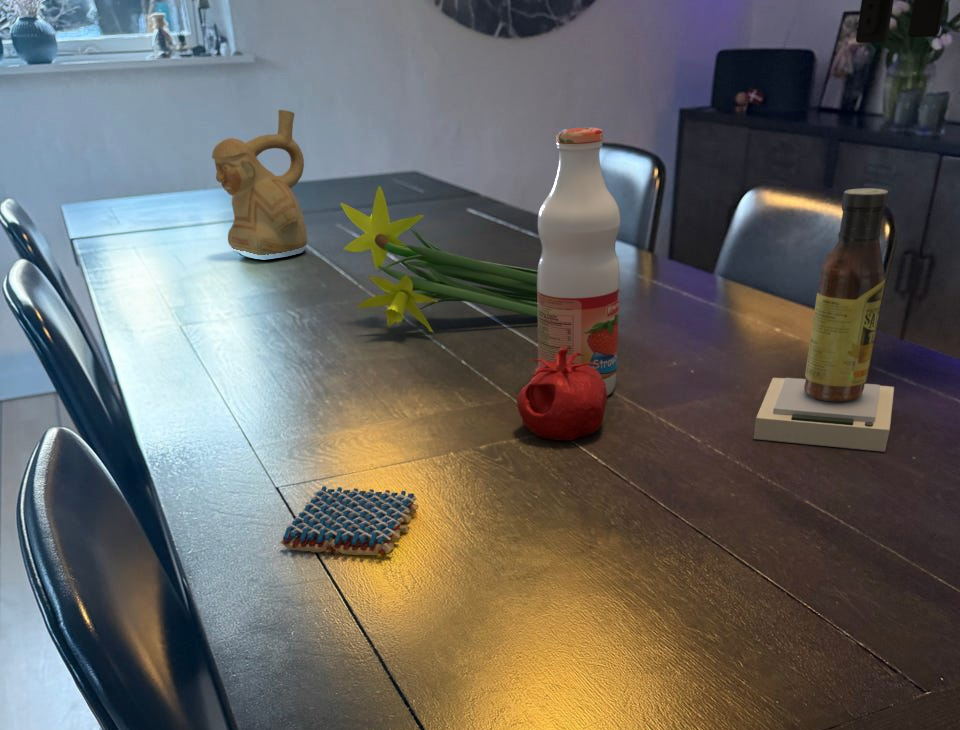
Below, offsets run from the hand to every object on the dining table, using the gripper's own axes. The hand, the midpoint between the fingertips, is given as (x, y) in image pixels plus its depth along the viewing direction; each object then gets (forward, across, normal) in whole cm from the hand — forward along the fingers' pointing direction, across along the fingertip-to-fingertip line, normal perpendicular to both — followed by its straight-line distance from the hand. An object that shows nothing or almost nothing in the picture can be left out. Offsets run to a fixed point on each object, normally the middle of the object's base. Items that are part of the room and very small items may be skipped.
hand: (897, 39), depth 96 cm
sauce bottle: (+32, -16, -9) cm, 37 cm away
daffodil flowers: (+34, -19, +52) cm, 65 cm away
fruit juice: (+34, -28, +18) cm, 48 cm away
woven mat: (+34, -68, +6) cm, 76 cm away
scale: (+34, -17, -9) cm, 39 cm away
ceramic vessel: (+34, -14, +120) cm, 126 cm away
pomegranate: (+34, -38, +10) cm, 52 cm away
